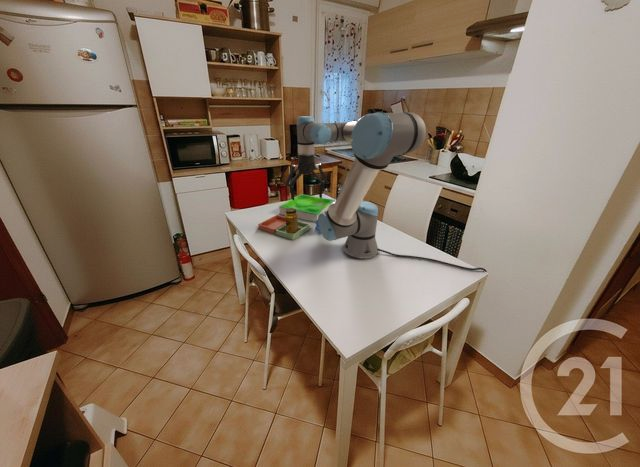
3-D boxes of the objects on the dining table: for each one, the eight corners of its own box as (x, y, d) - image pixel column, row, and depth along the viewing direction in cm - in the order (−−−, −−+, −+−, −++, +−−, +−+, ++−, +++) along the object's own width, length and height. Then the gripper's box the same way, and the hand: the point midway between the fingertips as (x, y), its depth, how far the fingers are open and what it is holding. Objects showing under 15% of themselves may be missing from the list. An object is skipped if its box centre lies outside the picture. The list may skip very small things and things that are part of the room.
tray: (300, 201, 177) (300, 193, 174) (334, 207, 167) (334, 200, 165) (279, 214, 157) (279, 206, 155) (317, 222, 147) (317, 214, 145)
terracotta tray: (292, 223, 146) (292, 219, 145) (274, 233, 135) (274, 229, 134) (277, 218, 151) (277, 214, 150) (258, 228, 140) (258, 224, 139)
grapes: (327, 226, 142) (328, 206, 137) (335, 231, 138) (336, 210, 132) (310, 232, 136) (310, 211, 130) (318, 237, 131) (318, 215, 126)
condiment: (282, 232, 135) (281, 210, 130) (291, 225, 142) (290, 205, 136) (294, 235, 132) (293, 213, 127) (303, 228, 139) (302, 207, 133)
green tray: (310, 228, 140) (310, 224, 139) (293, 240, 129) (292, 235, 128) (293, 223, 146) (293, 219, 144) (275, 234, 134) (275, 229, 133)
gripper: (330, 151, 124) (329, 194, 134) (277, 153, 119) (280, 197, 129) (335, 154, 117) (333, 199, 127) (279, 156, 112) (282, 202, 122)
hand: (307, 198), depth 128 cm, fingers open, 13 cm apart
